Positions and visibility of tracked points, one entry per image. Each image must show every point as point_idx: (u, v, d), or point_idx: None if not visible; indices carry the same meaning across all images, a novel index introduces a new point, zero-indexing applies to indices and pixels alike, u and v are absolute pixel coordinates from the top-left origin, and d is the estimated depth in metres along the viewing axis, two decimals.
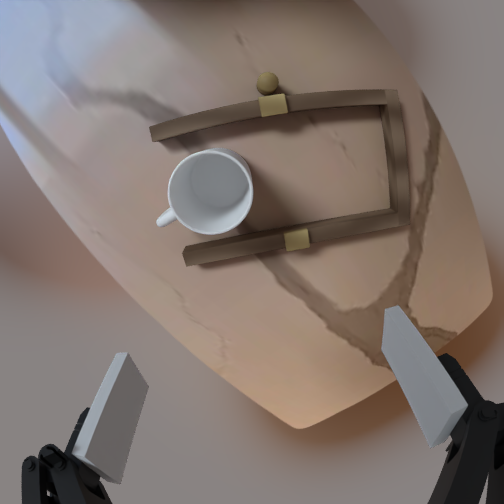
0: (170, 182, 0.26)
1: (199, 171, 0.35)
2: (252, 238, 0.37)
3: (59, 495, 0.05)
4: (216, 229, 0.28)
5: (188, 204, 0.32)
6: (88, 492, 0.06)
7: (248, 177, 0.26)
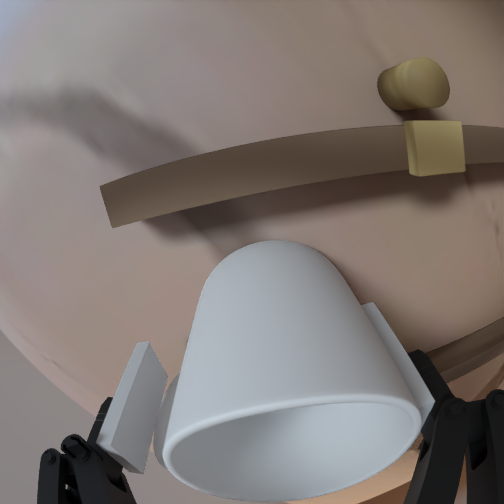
0: (167, 457, 0.06)
1: None
2: None
3: (79, 487, 0.06)
4: (303, 484, 0.09)
5: None
6: (111, 485, 0.06)
7: (418, 423, 0.06)
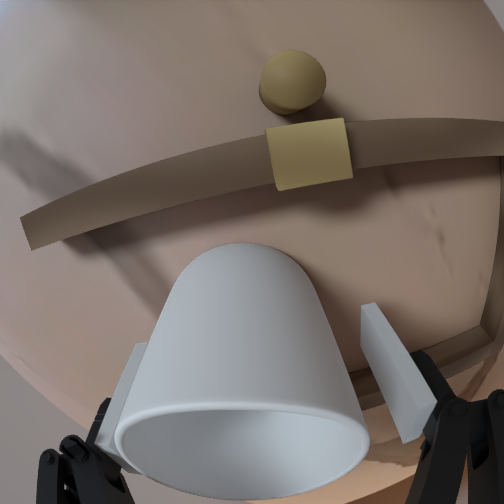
0: (130, 462, 0.07)
1: None
2: None
3: (78, 487, 0.06)
4: (291, 480, 0.09)
5: None
6: (109, 485, 0.06)
7: (347, 422, 0.06)
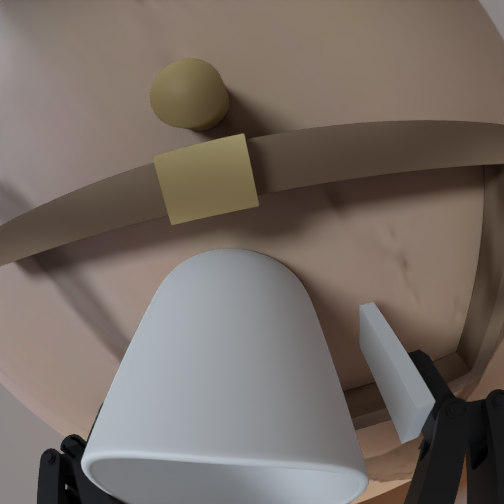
0: (116, 497, 0.06)
1: None
2: None
3: (79, 487, 0.06)
4: None
5: None
6: None
7: (319, 468, 0.04)
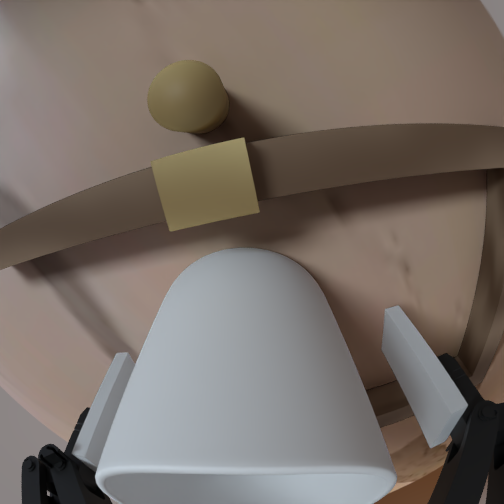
0: None
1: None
2: None
3: (59, 495, 0.05)
4: None
5: None
6: (88, 492, 0.06)
7: (347, 471, 0.04)
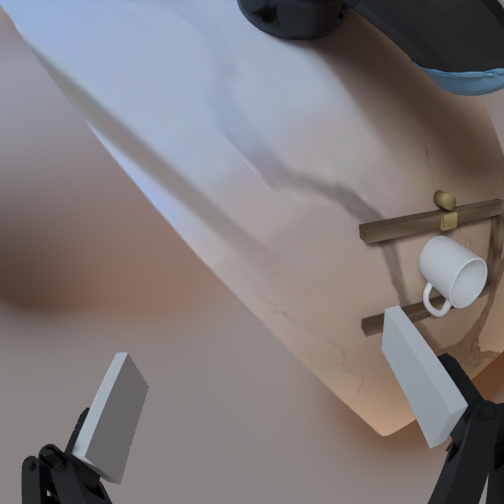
0: (450, 294, 0.32)
1: None
2: (413, 312, 0.42)
3: (59, 495, 0.05)
4: (472, 295, 0.33)
5: None
6: (88, 492, 0.06)
7: (483, 261, 0.30)
